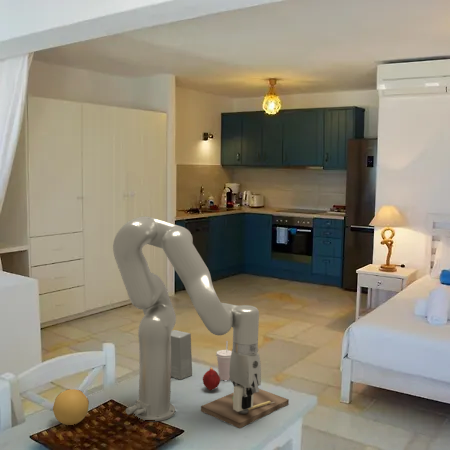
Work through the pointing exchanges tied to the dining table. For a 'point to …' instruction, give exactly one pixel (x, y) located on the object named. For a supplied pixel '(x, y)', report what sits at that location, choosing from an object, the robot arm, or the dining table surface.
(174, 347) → the skincare box
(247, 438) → the dining table surface
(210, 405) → the wooden cutting board
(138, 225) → the robot arm
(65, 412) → the stress ball
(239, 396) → the cheese with knife
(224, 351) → the smoothie
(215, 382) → the onion
